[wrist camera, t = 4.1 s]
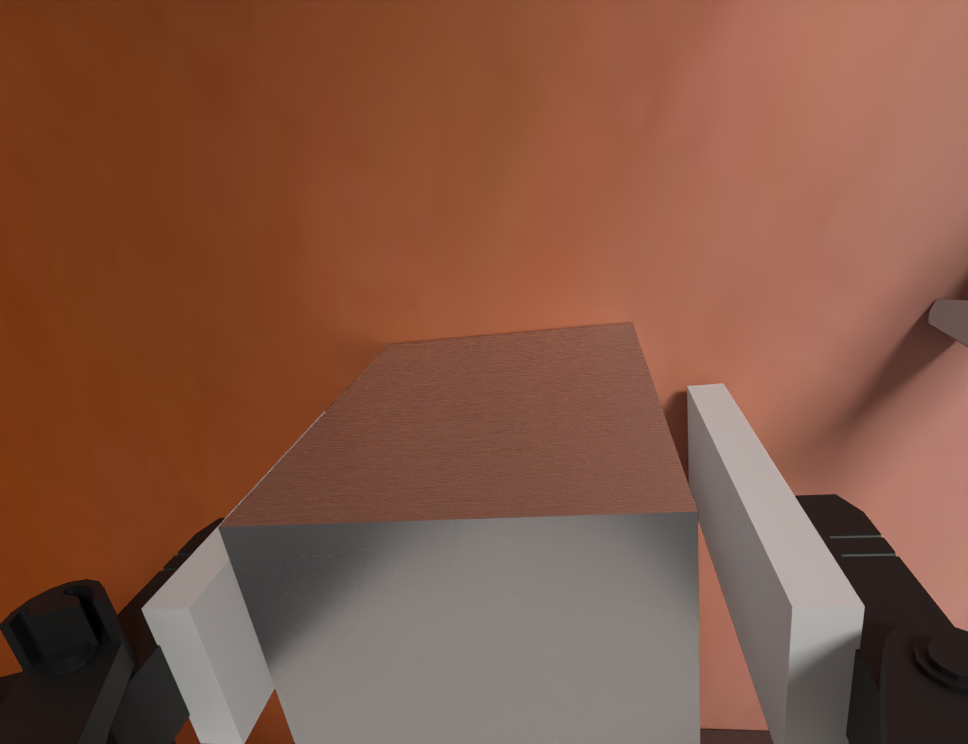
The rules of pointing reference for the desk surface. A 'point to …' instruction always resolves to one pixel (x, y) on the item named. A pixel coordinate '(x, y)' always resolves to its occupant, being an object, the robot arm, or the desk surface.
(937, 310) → the caliper
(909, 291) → the desk surface
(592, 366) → the plain grey cube
